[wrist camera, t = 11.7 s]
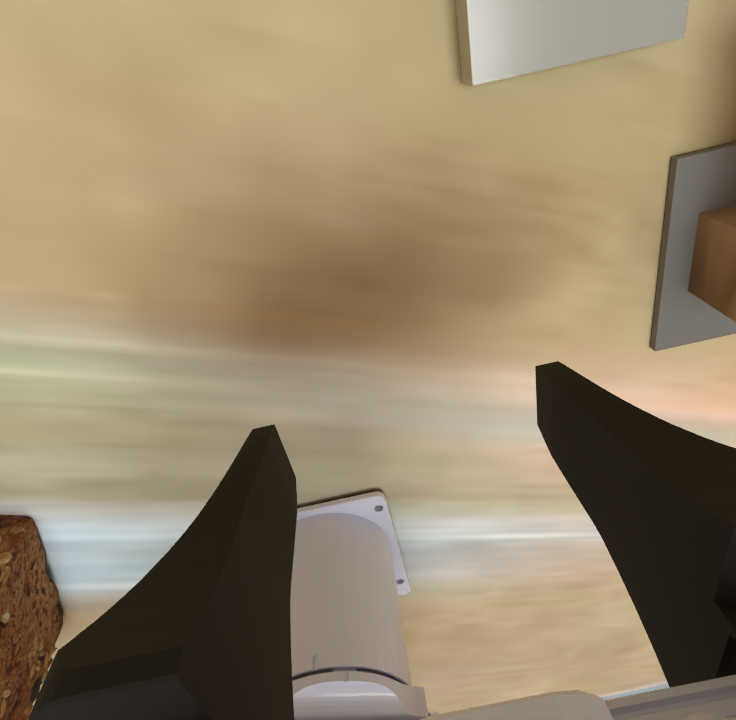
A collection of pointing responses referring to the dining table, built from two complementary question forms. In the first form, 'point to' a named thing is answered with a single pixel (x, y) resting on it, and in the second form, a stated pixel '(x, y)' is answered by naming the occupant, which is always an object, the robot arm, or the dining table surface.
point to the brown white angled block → (715, 260)
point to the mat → (690, 246)
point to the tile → (557, 32)
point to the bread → (24, 617)
